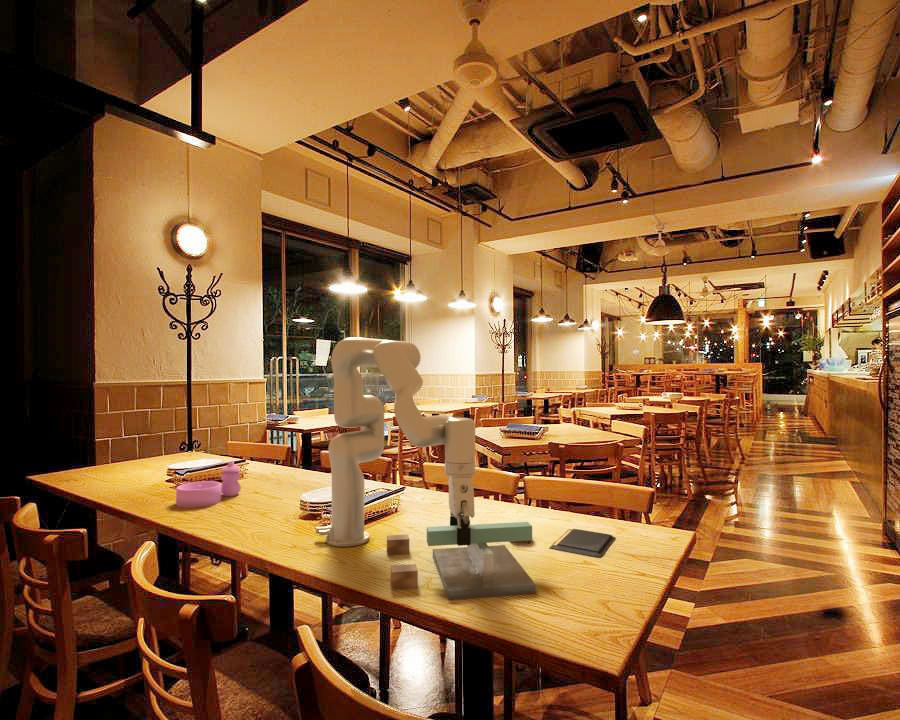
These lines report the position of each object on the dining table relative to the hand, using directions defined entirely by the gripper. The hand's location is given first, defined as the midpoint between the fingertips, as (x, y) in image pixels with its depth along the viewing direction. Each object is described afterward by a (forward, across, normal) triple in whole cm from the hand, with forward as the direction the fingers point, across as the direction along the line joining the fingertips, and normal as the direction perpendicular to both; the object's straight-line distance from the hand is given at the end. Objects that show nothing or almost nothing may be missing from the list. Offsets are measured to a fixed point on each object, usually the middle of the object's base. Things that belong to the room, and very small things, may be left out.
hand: (459, 538), depth 123 cm
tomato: (+9, +22, -22) cm, 33 cm away
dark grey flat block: (+10, +17, -40) cm, 45 cm away
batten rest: (+9, +7, +14) cm, 18 cm away
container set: (+9, +86, +82) cm, 119 cm away
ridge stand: (+9, 0, -5) cm, 10 cm away
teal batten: (+1, 0, -5) cm, 5 cm away
